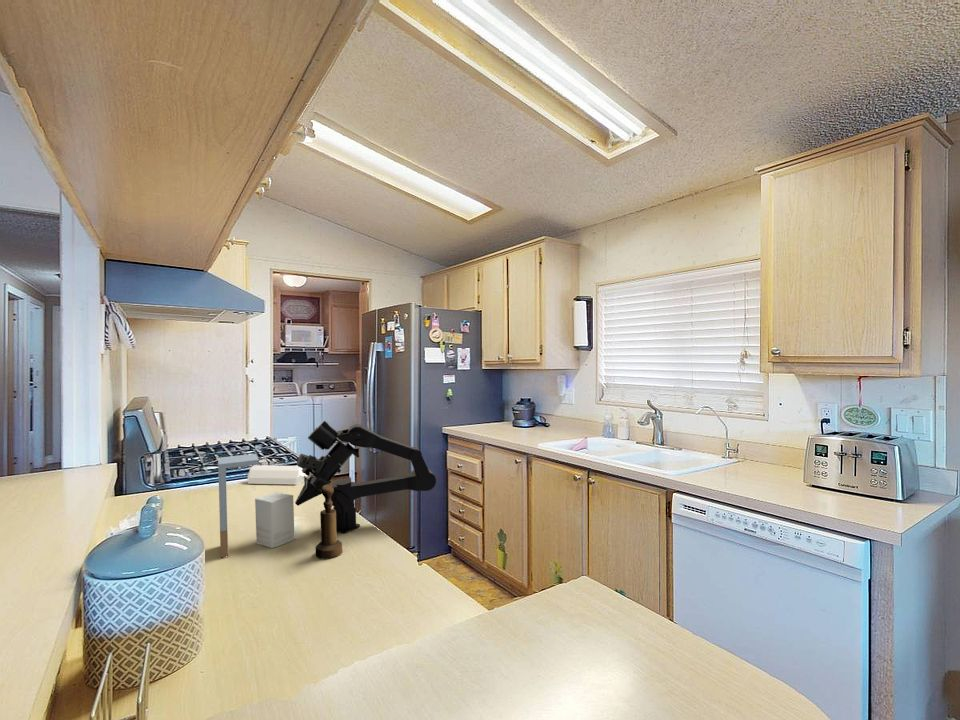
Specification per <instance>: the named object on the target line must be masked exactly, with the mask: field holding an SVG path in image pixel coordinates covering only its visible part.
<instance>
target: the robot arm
mask: <svg viewBox="0 0 960 720" xmlns="http://www.w3.org/2000/svg"><path fill="white" fill-rule="evenodd" d="M307 439H308V440H309V441H310V442H311V443H313V444H314V445H315V446H317V447H318V448H319V449H320V450H322V451H324V450H325V451H326V450H329V451H328V452H327V454H326V455H325V456H324V455H321V456H320V457H319V458H317V457H316V456H313V455H312V454H309V455H307V454H304V453H300V454H299V457H298V459H297V461H296V463H295V464H296V466H298V467H301V468H302V472H303V473H305V475H306V476H305V475H304V480H303V486H302V488H301V490H300V493H299V494H298V496H297V498H296V500H295V502H294V503H295V505H296V506H300V505H303V504H304V503H306V502H308V501H311V500H312V499H314V498H317V497H318V496H321V495H323V494H322V492H321V490H322V487H323V486H324V485H327V484H330V485H332V486H333V488H334V492H333V494H332V496H331V501H332V502H333V503H332V509H334V510H336V532H339V533H342V534H343V533H344V534H345V533H349V532H350V531H352V530H355V529H357V528H360V527H361V524H360V523H357V507H356V506H355V505H356V504H355V503H356V502H355V501H356V500H357V499H359V498H364V497H370V496H375V495H377V496H378V495H382V494H389V493H394V492H400V491H405V490H407V491H408V490H409V491H414V492H429V491H432V490H433V488H435V486H436V483H437V478H436V476H435V474H434V473H433V472H432V470H431V469H429V468H428V466H427V463H426V462H425V459H424V457H423V454H422V451H421V450H420V448H419V447H415V446H410V445H407V444H405V443H402V442H399V441H396V440H394V439H391V438H388V437H385V436H382V435H379V434H378V433H376V432H374V431H373V430H371V429H369V428H368V427H367V426H364V425H362V424H359V423H354V424H352V425H351V426H350V427H349V428H346V429H343V430H338V431H337V429H334V427H332V426H331V425H330V424H329V422H327V421H326V420H324V421H323V422H322V423H320V425H318V426H317V427H316V428H314V429H313V431H312V432H311V433H310V434H309V436H307ZM333 445H334V446H333ZM332 446H333V447H332ZM360 448H365V449H366V448H367V449H375V450H379V451H382V452H385V453H388V454H391V455H394V456H397V457H399V458H403V459H405V460H409V461H410V462H411V465H412V467H413V470H412V471H409V472H408V473H406V474H403V475H399V476H392V477H385V478H380V479H379V478H378V479H372V480H366V481H359V482H355V481H352V477H351V476H350V477H347V478H337V479H336V481H333V482H332V481H331V480H332V479H333V478H334V477H335V475H336V474H337V473H338V474H340V473H341V471H342V470H341V469H342V467H343V466H344V465H345V464H346V463H347V461H349V459H350V458H351V457H352V456H355V457H356V458H358V459H359V458H360Z"/></svg>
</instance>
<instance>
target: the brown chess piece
mask: <svg viewBox="0 0 960 720" xmlns="http://www.w3.org/2000/svg"><path fill="white" fill-rule="evenodd" d="M330 484H331V483H330ZM330 484H327V485H324V486H323V487H322V490H321V492H322V494H321V495H322V496H323V497H324V501H323V507H324V509H322V510H320V513H319V514H320V515H319V518H320V542H318V544H317V545H316V546H315V557H316V558H317V557H318V558H317V559H321V558H324V559H326V558H328V559H332V558H336V557H338V555H339V556H341V554H342V553H343V542H342V541H340V540H339V539H337V537H338V536H337V531H336V510H334V509H333V506H332V503H333V502H332V501H331V496H332V494H333V492H334V488H333V486H332V485H330Z"/></svg>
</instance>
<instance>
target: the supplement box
mask: <svg viewBox="0 0 960 720" xmlns="http://www.w3.org/2000/svg"><path fill="white" fill-rule="evenodd" d="M254 503H255V504H254V505H255V506H254V507H255V534H256V535H255V538H256V542H255V543H256V544H258V545H261V546H264V547H267V548H270V549H274V548H276V547H279V546H282V545H285V544H287V543H289V542H292V541H294V540H295V536H296V535H295V511H294V510H295V509H294V494H289V493H284V492H279V491H276V492H273V493H268V494H266V495H263V496H260V497H257V498H255V500H254Z"/></svg>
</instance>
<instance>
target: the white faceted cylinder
mask: <svg viewBox="0 0 960 720" xmlns="http://www.w3.org/2000/svg"><path fill="white" fill-rule="evenodd" d="M302 469H303V468H301V467H298V465H260V464H257V465H251V467H250V469H249V471H248V473H247V484H249V485H251V484H252V485H255V484H256V485H288V486H289V485H291V486H293V485H295V486H296V485H301V484H302V483H303V484H304V476H305V475H306V474H305V473H303V472H302Z"/></svg>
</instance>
